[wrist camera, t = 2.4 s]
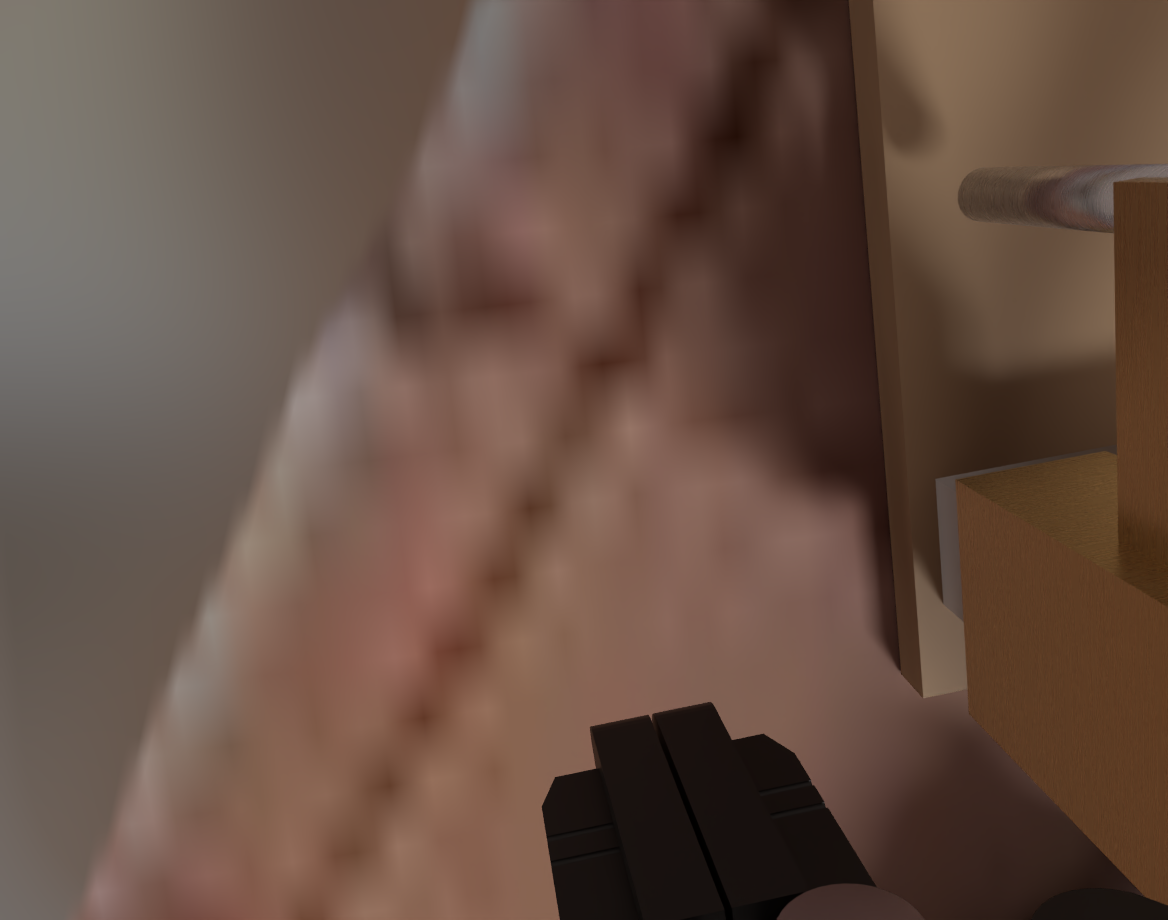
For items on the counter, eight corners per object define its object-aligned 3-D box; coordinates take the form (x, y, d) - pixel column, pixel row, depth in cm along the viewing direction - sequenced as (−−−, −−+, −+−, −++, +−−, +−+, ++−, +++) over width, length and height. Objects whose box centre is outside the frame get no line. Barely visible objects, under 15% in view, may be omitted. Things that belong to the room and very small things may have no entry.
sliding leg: (1057, 154, 16) (1412, 142, 10) (1071, 655, 18) (1366, 882, 12) (905, 180, 16) (1175, 182, 10) (938, 682, 18) (1174, 926, 12)
